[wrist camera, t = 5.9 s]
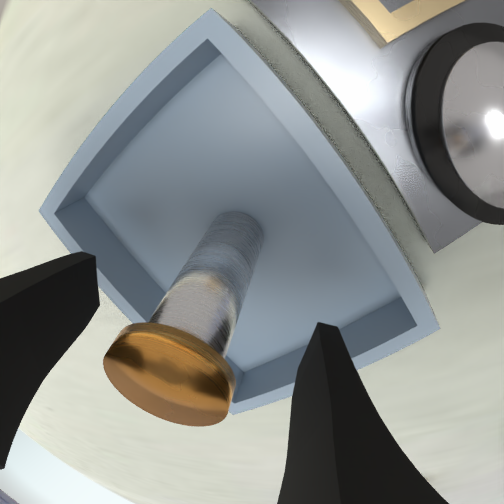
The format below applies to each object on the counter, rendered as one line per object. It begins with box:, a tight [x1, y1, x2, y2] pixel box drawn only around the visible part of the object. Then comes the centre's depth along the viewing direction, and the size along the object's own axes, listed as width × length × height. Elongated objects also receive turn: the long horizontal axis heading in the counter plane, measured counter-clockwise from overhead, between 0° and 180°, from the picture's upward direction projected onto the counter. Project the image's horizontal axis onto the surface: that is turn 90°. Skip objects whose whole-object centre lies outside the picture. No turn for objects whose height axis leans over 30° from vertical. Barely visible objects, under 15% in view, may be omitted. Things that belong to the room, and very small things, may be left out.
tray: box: [39, 8, 440, 415], centre depth 13 cm, size 15×12×3 cm
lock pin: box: [103, 211, 264, 426], centre depth 11 cm, size 3×3×8 cm
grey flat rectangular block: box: [248, 0, 504, 253], centre depth 8 cm, size 14×10×3 cm
